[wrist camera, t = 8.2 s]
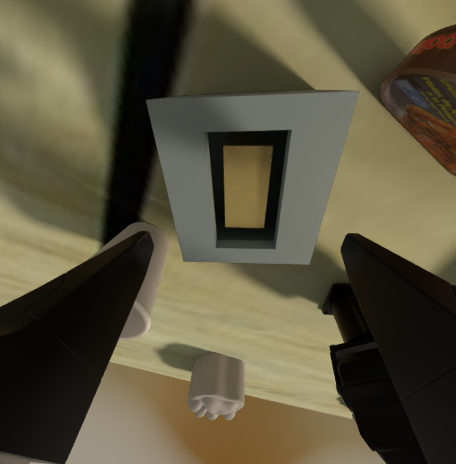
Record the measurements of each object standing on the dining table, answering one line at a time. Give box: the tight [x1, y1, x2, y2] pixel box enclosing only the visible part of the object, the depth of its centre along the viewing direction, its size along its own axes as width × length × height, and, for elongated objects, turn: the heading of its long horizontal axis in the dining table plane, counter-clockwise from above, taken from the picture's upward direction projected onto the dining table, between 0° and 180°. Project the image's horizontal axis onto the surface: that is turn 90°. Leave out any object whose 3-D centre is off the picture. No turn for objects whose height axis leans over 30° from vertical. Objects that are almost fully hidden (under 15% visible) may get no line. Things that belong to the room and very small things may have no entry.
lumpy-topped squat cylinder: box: [187, 353, 244, 420], centre depth 42 cm, size 10×13×9 cm
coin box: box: [146, 90, 359, 265], centre depth 15 cm, size 11×10×7 cm
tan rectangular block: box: [223, 131, 273, 228], centre depth 16 cm, size 6×3×5 cm, turn 1°
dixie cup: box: [88, 222, 170, 340], centre depth 21 cm, size 8×8×10 cm
